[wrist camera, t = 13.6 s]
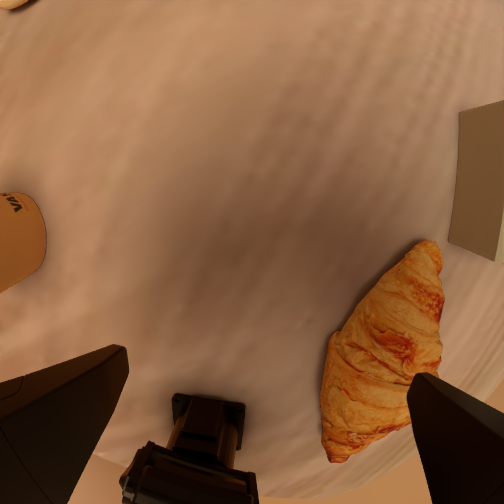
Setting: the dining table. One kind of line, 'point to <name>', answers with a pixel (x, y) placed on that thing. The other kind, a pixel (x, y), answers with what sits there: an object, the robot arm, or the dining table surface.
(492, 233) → the cover
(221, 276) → the dining table surface
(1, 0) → the flower in vase
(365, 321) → the croissant
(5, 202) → the coffee cup
